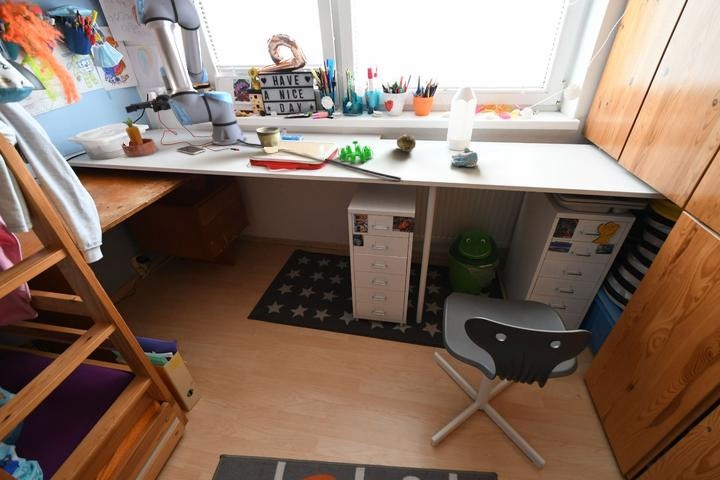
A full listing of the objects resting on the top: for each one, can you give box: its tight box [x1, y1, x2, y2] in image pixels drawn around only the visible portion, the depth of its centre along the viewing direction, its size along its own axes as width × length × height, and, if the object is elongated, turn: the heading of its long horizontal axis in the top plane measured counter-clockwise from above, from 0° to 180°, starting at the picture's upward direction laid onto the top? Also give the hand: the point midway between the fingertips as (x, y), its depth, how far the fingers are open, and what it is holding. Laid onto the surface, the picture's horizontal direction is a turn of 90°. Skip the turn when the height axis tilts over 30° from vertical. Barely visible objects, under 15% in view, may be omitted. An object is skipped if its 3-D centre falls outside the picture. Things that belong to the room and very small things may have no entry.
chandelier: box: [337, 140, 374, 164], centre depth 134 cm, size 15×15×7 cm
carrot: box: [122, 117, 143, 146], centre depth 148 cm, size 5×5×15 cm
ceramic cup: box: [255, 126, 281, 149], centre depth 146 cm, size 13×10×10 cm
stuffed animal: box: [450, 146, 479, 168], centre depth 124 cm, size 11×7×12 cm
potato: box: [396, 134, 417, 152], centre depth 139 cm, size 8×13×8 cm, turn 172°
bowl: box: [120, 137, 158, 158], centre depth 151 cm, size 13×13×5 cm
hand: (140, 109), depth 151 cm, fingers open, 13 cm apart
